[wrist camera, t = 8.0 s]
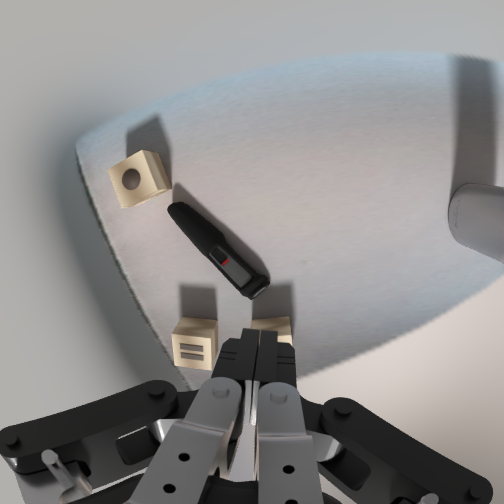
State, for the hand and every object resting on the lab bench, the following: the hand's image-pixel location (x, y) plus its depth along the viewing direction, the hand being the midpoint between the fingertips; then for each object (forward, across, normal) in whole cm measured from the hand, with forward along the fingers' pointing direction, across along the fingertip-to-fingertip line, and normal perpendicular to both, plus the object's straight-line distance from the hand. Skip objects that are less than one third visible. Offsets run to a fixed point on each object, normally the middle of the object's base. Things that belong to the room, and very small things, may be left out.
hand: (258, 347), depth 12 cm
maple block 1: (+23, +16, -7) cm, 29 cm away
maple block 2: (+24, +9, +14) cm, 29 cm away
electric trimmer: (+24, +6, +2) cm, 25 cm away
